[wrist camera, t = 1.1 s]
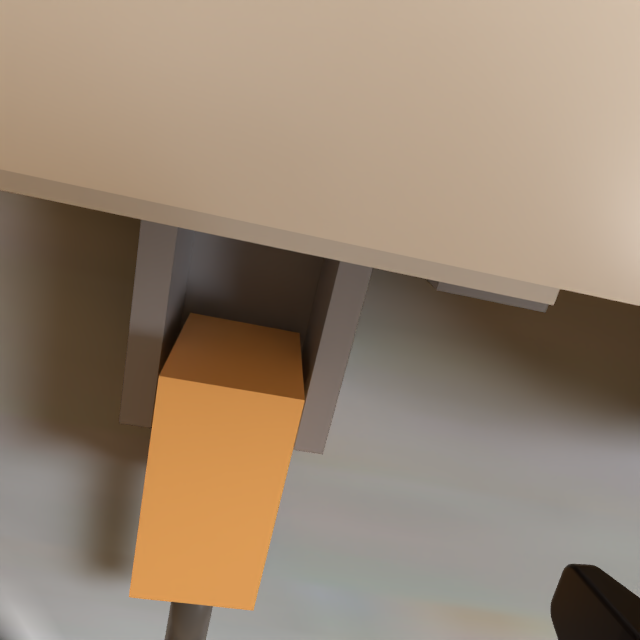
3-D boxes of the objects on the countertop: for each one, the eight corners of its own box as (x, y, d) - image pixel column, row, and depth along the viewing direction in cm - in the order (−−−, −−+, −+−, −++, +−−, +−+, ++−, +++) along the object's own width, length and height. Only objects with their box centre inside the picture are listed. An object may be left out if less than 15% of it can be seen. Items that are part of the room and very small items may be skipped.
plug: (190, 312, 18) (158, 376, 14) (299, 332, 19) (304, 400, 14) (144, 613, 23) (110, 735, 19) (232, 623, 24) (220, 743, 19)
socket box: (16, -267, 14) (-393, -869, 5) (610, -72, 16) (954, -280, 8) (3, 337, 20) (-204, 492, 11) (441, 411, 22) (537, 584, 14)
